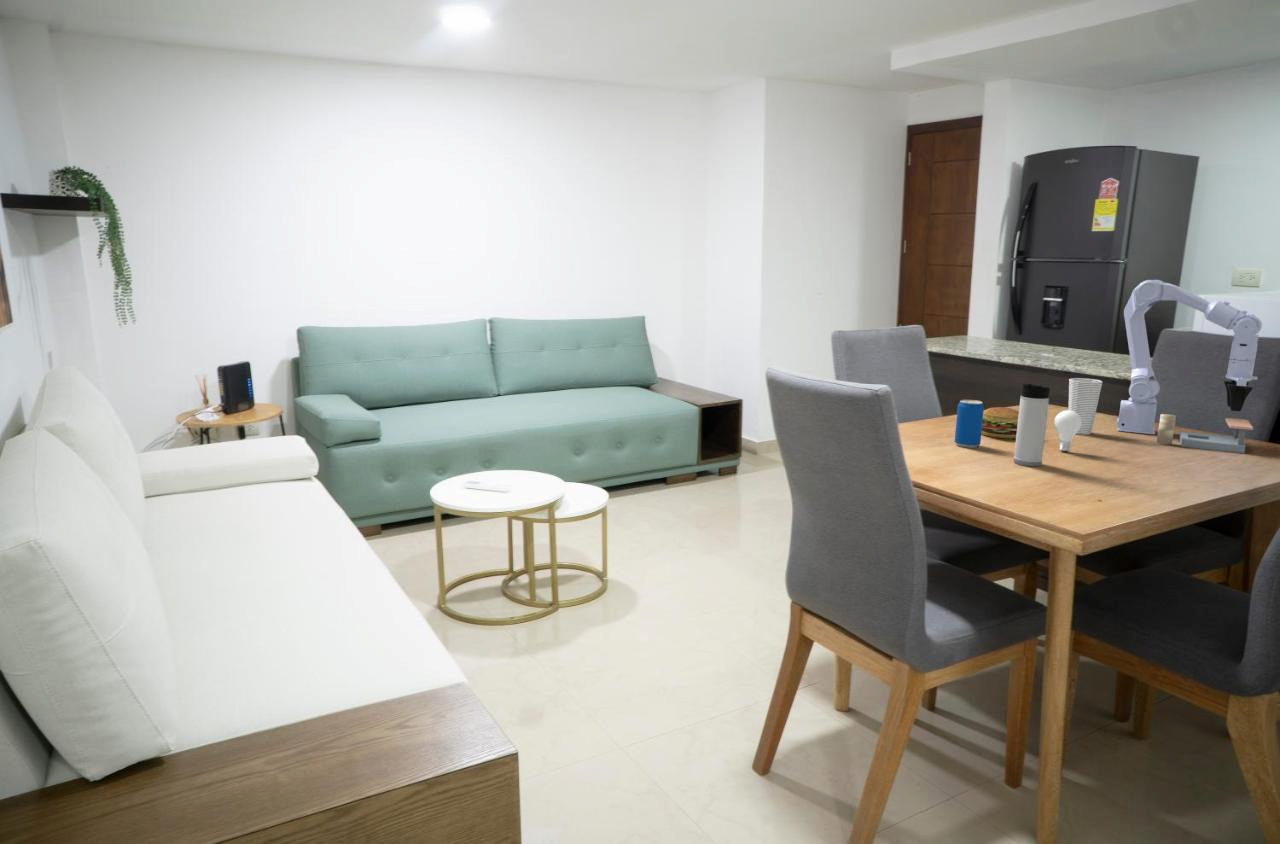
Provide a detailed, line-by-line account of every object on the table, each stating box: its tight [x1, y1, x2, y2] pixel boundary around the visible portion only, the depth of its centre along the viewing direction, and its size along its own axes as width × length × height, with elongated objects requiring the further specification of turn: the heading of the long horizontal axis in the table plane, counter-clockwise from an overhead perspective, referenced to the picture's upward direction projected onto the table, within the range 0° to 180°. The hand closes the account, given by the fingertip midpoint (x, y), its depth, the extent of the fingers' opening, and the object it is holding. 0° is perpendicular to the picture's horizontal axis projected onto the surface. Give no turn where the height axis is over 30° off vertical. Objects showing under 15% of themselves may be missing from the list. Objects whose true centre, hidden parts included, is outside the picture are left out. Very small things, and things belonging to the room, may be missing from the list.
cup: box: [1067, 377, 1103, 436], centre depth 241 cm, size 8×8×16 cm
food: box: [981, 406, 1019, 440], centre depth 236 cm, size 14×14×8 cm
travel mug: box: [1013, 382, 1051, 467], centre depth 202 cm, size 6×7×20 cm
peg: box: [1156, 413, 1177, 446], centre depth 229 cm, size 4×4×8 cm
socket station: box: [1178, 417, 1254, 454], centre depth 227 cm, size 15×13×7 cm
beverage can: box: [954, 399, 985, 449], centre depth 222 cm, size 6×6×12 cm
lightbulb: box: [1053, 409, 1082, 453], centre depth 217 cm, size 6×6×11 cm
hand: (1233, 408), depth 230 cm, fingers open, 7 cm apart
